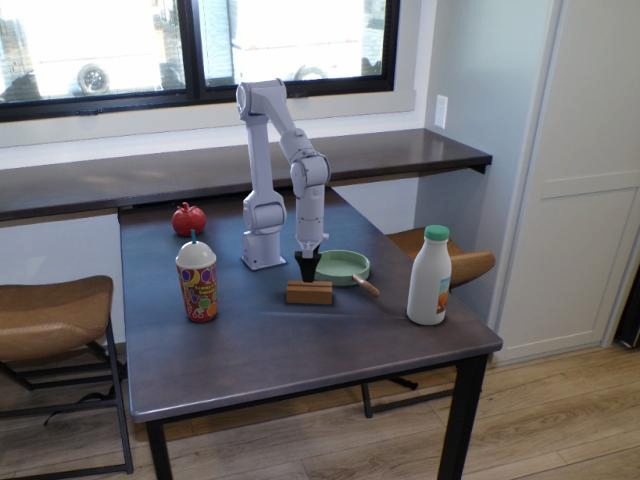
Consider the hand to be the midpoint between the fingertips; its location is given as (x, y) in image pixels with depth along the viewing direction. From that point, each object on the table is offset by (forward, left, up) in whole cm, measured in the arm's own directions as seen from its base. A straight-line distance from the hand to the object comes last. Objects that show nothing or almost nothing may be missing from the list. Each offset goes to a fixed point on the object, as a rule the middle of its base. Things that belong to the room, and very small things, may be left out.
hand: (309, 273), depth 115 cm
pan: (+13, +8, -7) cm, 16 cm away
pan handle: (+13, -4, -5) cm, 14 cm away
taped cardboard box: (0, 0, -7) cm, 7 cm away
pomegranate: (-14, +51, -7) cm, 53 cm away
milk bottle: (+19, -17, -7) cm, 26 cm away
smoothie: (-24, +4, -7) cm, 25 cm away
